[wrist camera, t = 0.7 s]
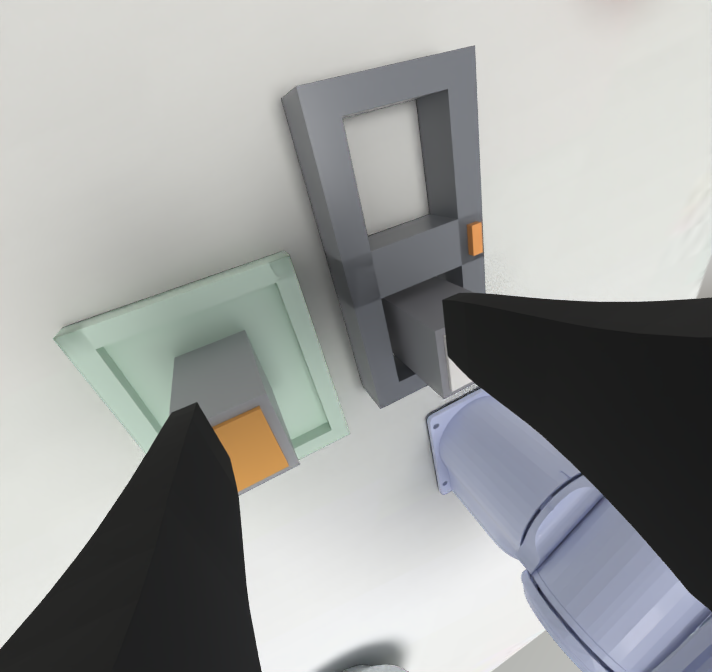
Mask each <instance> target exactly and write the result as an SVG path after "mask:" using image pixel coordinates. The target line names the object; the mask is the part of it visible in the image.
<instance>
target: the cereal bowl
mask: <svg viewBox="0 0 712 672" xmlns="http://www.w3.org/2000/svg"><path fill="white" fill-rule="evenodd" d="M342 672H409V671H407V670H405V669H404V668H401V667H399V666H395V665H389V664H388V665H385V664H384V665H378V666H368V665H358V666H354V667H351V668H349V669H346V670H344V671H342Z"/></svg>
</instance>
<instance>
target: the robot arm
mask: <svg viewBox="0 0 712 672" xmlns="http://www.w3.org/2000/svg"><path fill="white" fill-rule="evenodd" d="M442 305H443V315H444V325H445V335H446V345H447V355H448V357H449V358H450V359H451V360H452V362H453V363H454V364H455V365H456V366H457V367H458V368H459V369H460V370H461V371H462V372H463V373H464V374H465V375H466V376H467V377H468V378H469V379H470V380H472V381H473V382H474V383H475V384H476V385H478V386H479V387H480V388H481V389H479V390H477V391H475V392H473V393H471V394H469V395H467V396H465V397H463V398H462V399H460V400H458V401H456V402H454V403H452V404H450V405H448V406H446V407H444V408H443V409H441V410H439V411H437V412H435V413H433V414H431V415H430V416H429V417H428V419H427V423H428V429H429V435H430V441H431V446H432V452H433V458H434V464H435V470H436V475H437V481H438V487H439V491H440V493H441V494H443V495H445V494H447V493H449V492H450V491H453V492H454V493H455V495H456V496H457V497H458V498H459V499H460V501H461V502H462V503H463V504H464V505H465V507H466V508H467V509H468V510H469V512H470V513H471V514H472V515H473V516H474V518H475V519H476V520H477V521H478V523H479V524H480V525H481V526H482V527H483V529H484V530H485V531H486V532H487V534H488V535H489V536H490V537H491V538H492V540H493V541H494V542H495V543H496V544H497V545H498V546H499V547H500V548H501V549H502V550H503V551H504V552H505V553H507V554H508V555H510V556H512V557H514V558H516V559H518V560H519V561H520V562H521V563H522V564H523V566H524V567H525V568H526V570H525V571H523V572H522V575H521V579H522V583H523V587H524V593H525V597H526V599H527V601H528V603H529V605H530V607H531V608H532V610H533V612H534V613H535V615H536V616H537V618H538V619H539V621H540V622H541V624H542V625H543V626H544V628H545V629H546V630H547V632H548V633H549V634H550V636H551V637H552V638H553V639H554V641H555V642H556V643H557V644H558V645H559V647H560V648H561V649H562V650H563V651H564V653H565V654H566V655H567V656H568V657H569V658H570V659H571V660H572V661H573V662H574V664H575V665H576V666H577V667H578V668H579V669H580V670H581V671H582V672H712V298H701V299H687V300H669V301H648V302H587V301H568V300H552V299H540V298H528V297H518V296H507V295H497V294H485V293H457V294H455V295H453V296H450V297H448V298H445V299H443V300H442ZM0 672H262V671H261V667H260V662H259V657H258V651H257V646H256V641H255V635H254V630H253V625H252V619H251V614H250V609H249V601H248V594H247V586H246V575H245V563H244V551H243V540H242V528H241V517H240V506H239V496H238V490H237V485H236V481H235V476H234V472H233V468H232V463H231V459H230V457H229V455H228V453H227V452H226V450H225V448H224V447H223V445H222V443H221V442H220V440H219V438H218V436H217V435H216V433H215V431H214V430H213V428H212V426H211V425H210V423H209V421H208V420H207V418H206V416H205V414H204V413H203V411H202V409H201V408H200V406H199V404H198V403H197V402H196V403H193V404H191V405H188V406H186V407H184V408H181V409H179V410H176V411H174V412H172V413H171V414H170V416H169V417H168V419H167V420H166V422H165V423H164V425H163V427H162V428H161V430H160V432H159V433H158V435H157V437H156V438H155V440H154V442H153V444H152V445H151V447H150V449H149V450H148V452H147V454H146V455H145V457H144V458H143V460H142V462H141V463H140V465H139V467H138V468H137V470H136V472H135V473H134V475H133V476H132V478H131V480H130V481H129V483H128V484H127V486H126V487H125V489H124V490H123V492H122V493H121V495H120V496H119V498H118V499H117V501H116V502H115V504H114V505H113V507H112V508H111V510H110V511H109V513H108V514H107V516H106V517H105V519H104V520H103V521H102V523H101V524H100V526H99V527H98V529H97V530H96V532H95V533H94V534H93V536H92V537H91V539H90V540H89V541H88V543H87V544H86V545H85V547H84V548H83V549H82V551H81V552H80V553H79V555H78V556H77V557H76V559H75V560H74V561H73V562H72V564H71V565H70V566H69V567H68V569H67V570H66V571H65V573H64V574H63V575H62V576H61V578H60V579H59V580H58V581H57V583H56V584H55V585H54V587H53V588H52V589H51V590H50V592H49V593H48V594H47V595H46V596H45V598H44V599H43V600H42V601H41V603H40V604H39V605H38V606H37V607H36V608H35V610H34V611H33V612H32V613H31V614H30V615H29V617H28V618H27V619H26V620H25V621H24V622H23V623H22V625H21V626H20V627H19V628H18V629H17V630H16V632H15V633H14V634H13V635H12V636H11V637H10V638H9V640H8V641H7V642H6V643H5V644H4V645H3V647H2V648H1V649H0Z"/></svg>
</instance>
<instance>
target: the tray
mask: <svg viewBox="0 0 712 672" xmlns="http://www.w3.org/2000/svg"><path fill="white" fill-rule="evenodd" d="M244 330H245V331H246V334H247V336H248V338H249V340H250V342H251V344H252V347H253V349H254V351H255V353H256V355H257V357H258V360H259V362H260V364H261V366H262V368H263V370H264V373H265V375H266V377H267V379H268V381H269V384H270V386H271V388H272V390H273V393H274V395H275V398H276V401H277V404H278V406H279V409H280V412H281V414H282V417H283V420H284V422H285V425H286V428H287V431H288V433H289V436H290V439H291V441H292V444H293V447H294V449H295V452H296V455H297V458H298V460H300V459H302V458H304V457H305V456H307V455H309V454H311V453H313V452H315V451H317V450H319V449H321V448H323V447H325V446H327V445H329V444H331V443H333V442H335V441H337V440H339V439H341V438H343V437H345V436H347V435H349V434H350V432H349V429H348V426H347V423H346V420H345V417H344V414H343V411H342V408H341V405H340V402H339V400H338V397H337V394H336V391H335V388H334V385H333V382H332V379H331V376H330V373H329V370H328V367H327V364H326V361H325V358H324V355H323V352H322V350H321V347H320V344H319V341H318V338H317V335H316V332H315V329H314V326H313V323H312V320H311V317H310V314H309V311H308V308H307V305H306V303H305V300H304V297H303V294H302V291H301V288H300V285H299V282H298V279H297V276H296V273H295V270H294V267H293V264H292V261H291V258H290V255H288V254H287V253H286V252H285V251H281V252H279V253H276V254H273V255H270V256H267V257H264V258H261V259H258V260H256V261H253V262H250V263H247V264H244V265H241V266H238V267H235V268H233V269H230V270H227V271H224V272H221V273H218V274H215V275H212V276H210V277H207V278H204V279H201V280H198V281H195V282H192V283H189V284H187V285H184V286H181V287H178V288H175V289H172V290H169V291H166V292H164V293H161V294H158V295H155V296H152V297H149V298H146V299H143V300H141V301H138V302H135V303H132V304H129V305H126V306H123V307H120V308H118V309H115V310H112V311H109V312H106V313H103V314H100V315H97V316H95V317H92V318H89V319H86V320H83V321H80V322H77V323H74V324H72V325H69V326H66V327H63V328H62V329H61V330H60V331H59V332H58V334H57V335H56V336H55V337H54V338H53V340H54V341H55V342H56V343H57V345H58V346H59V347H60V348H61V349H62V351H63V352H64V353H65V354H66V356H67V357H68V358H69V359H70V361H71V362H72V363H73V364H74V366H75V367H76V368H77V369H78V371H79V372H80V373H81V374H82V376H83V377H84V378H85V379H86V381H87V382H88V383H89V384H90V386H91V387H92V388H93V389H94V390H95V392H96V393H97V394H98V395H99V397H100V398H101V399H102V400H103V402H104V403H105V404H106V405H107V407H108V408H109V409H110V410H111V412H112V413H113V414H114V415H115V417H116V418H117V419H118V420H119V422H120V423H121V424H122V425H123V427H124V428H125V429H126V430H127V432H128V433H129V434H130V435H131V436H132V438H133V439H134V440H135V441H136V443H137V444H138V445H139V446H140V448H141V449H142V450H143V451H144V453H145V454H147V452H148V450H149V449H150V447H151V445H152V444H153V442H154V440H155V438H156V437H157V435H158V433H159V432H160V430H161V428H162V427H163V425H164V423H165V422H166V420H167V419H168V417H169V411H170V400H171V389H172V379H173V368H174V358H175V357H178V356H180V355H183V354H185V353H188V352H190V351H193V350H195V349H198V348H201V347H203V346H206V345H208V344H211V343H213V342H216V341H218V340H221V339H223V338H226V337H228V336H231V335H233V334H236V333H238V332H241V331H244Z"/></svg>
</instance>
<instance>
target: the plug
mask: <svg viewBox="0 0 712 672" xmlns="http://www.w3.org/2000/svg"><path fill="white" fill-rule="evenodd" d="M196 402H197V403H198V404H199V406H200V408H201V409H202V411H203V413H204V414H205V416H206V418H207V420H208V421H209V423H210V425H211V426H212V428H213V430H214V431H215V433H216V435H217V436H218V438H219V440H220V442H221V443H222V445H223V447H224V448H225V450H226V452H227V453H228V455H229V457H230V459H231V463H232V468H233V472H234V476H235V481H236V485H237V490H238V496H239V495H241V494H243V493H245V492H247V491H249V490H251V489H253V488H255V487H257V486H259V485H261V484H263V483H265V482H267V481H269V480H270V479H272V478H274V477H276V476H278V475H280V474H282V473H284V472H286V471H288V470H290V469H292V468H294V467H296V466H298V465H300V463H299V460H298V458H297V455H296V452H295V449H294V447H293V444H292V441H291V439H290V436H289V433H288V431H287V428H286V425H285V422H284V420H283V417H282V414H281V412H280V409H279V406H278V404H277V401H276V398H275V395H274V393H273V390H272V388H271V386H270V384H269V381H268V379H267V377H266V375H265V373H264V370H263V368H262V366H261V364H260V362H259V360H258V357H257V355H256V353H255V351H254V349H253V347H252V344H251V342H250V340H249V338H248V336H247V334H246V331H245V330H244V331H241V332H238V333H236V334H233V335H231V336H228V337H226V338H223V339H221V340H218V341H216V342H213V343H211V344H208V345H206V346H203V347H201V348H198V349H195V350H193V351H190V352H188V353H185V354H183V355H180V356H178V357H175V358H174V368H173V379H172V389H171V400H170V411H169V416H170V414H171V413H172V412H174V411H176V410H179V409H181V408H184V407H186V406H188V405H191V404H193V403H196Z"/></svg>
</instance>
